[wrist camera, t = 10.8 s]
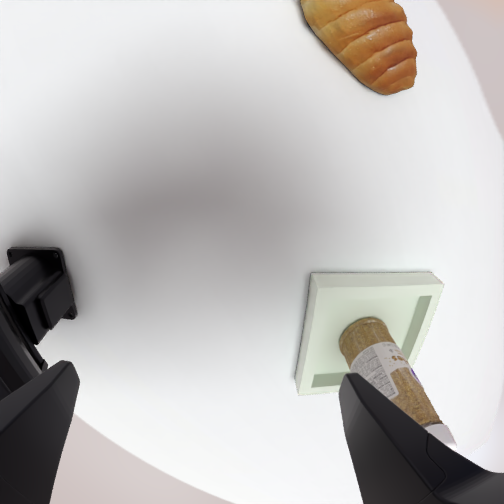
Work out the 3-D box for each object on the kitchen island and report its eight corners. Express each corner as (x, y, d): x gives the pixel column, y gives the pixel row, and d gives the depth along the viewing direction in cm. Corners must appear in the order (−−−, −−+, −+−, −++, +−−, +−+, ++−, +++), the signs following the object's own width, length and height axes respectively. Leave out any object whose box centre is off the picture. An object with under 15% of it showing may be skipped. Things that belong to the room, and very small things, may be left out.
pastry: (424, 79, 17) (454, 74, 13) (355, 110, 18) (379, 107, 14) (359, -24, 13) (379, -45, 10) (283, -1, 14) (291, -25, 11)
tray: (294, 378, 26) (298, 395, 24) (311, 273, 22) (318, 287, 20) (397, 367, 27) (405, 382, 24) (431, 272, 22) (444, 283, 20)
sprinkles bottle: (395, 329, 24) (467, 449, 11) (358, 363, 25) (410, 487, 13) (365, 306, 22) (444, 442, 10) (326, 344, 24) (374, 487, 11)
